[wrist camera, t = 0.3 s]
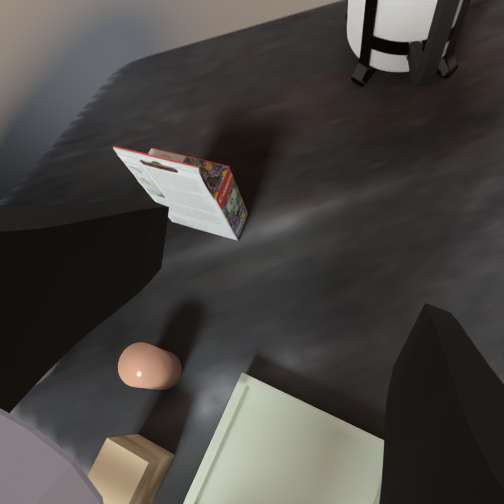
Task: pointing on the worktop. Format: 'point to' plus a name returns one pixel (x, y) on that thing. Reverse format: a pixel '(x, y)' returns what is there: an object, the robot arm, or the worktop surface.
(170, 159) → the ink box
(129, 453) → the beech block
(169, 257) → the worktop surface
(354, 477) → the tray
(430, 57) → the coffee press
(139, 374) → the terracotta cylinder
